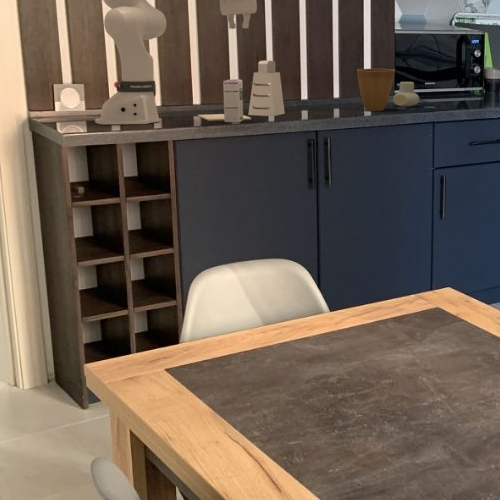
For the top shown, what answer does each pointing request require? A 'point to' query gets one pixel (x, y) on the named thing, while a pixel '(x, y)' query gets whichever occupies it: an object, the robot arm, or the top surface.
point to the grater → (266, 91)
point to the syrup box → (233, 100)
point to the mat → (217, 117)
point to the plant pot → (375, 87)
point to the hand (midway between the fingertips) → (238, 28)
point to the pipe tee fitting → (406, 95)
